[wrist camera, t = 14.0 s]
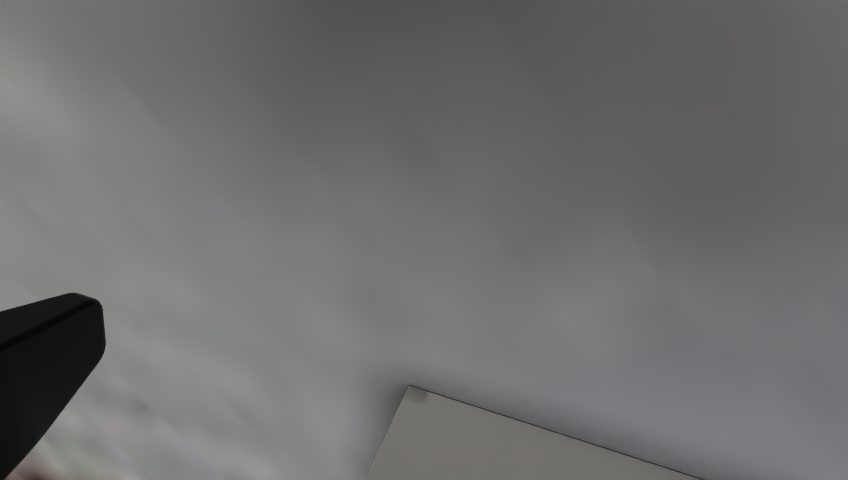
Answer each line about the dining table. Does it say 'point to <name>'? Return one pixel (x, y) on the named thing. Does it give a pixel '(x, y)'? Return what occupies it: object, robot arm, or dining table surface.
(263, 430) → the dining table surface
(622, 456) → the box
